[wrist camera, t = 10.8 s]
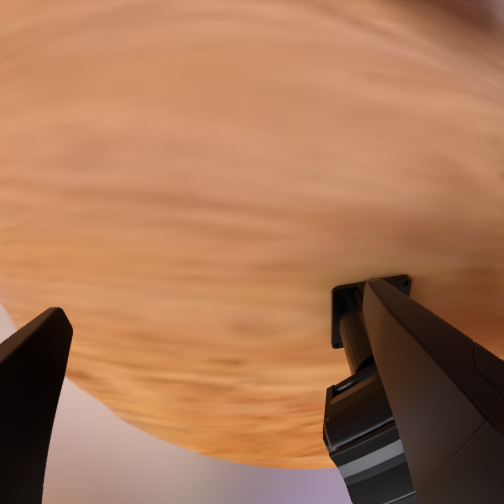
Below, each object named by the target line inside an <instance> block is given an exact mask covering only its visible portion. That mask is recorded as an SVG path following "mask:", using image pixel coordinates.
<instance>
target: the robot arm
mask: <svg viewBox="0 0 504 504" xmlns="http://www.w3.org/2000/svg"><path fill="white" fill-rule="evenodd" d="M405 281H406V282H405ZM404 282H405V283H404ZM410 288H411V279H410V277H409V276H408V275H402V276H397V277H391V278H385V279H376V280H369V281H367V282H362V283H355V284H349V285H343V286H337V287H335V288H333V290H332V292H331V345H332V347H333V348H334V349H339V348H344V350H345V353H346V356H347V360H348V363H349V367H350V371H351V374H352V376H350V377H348V378H347V379H345V380H343V381H342V382H340V383H338V384H336V385H332V386H330V387H329V388H327V392H326V404H325V414H324V424H323V441H324V442H325V445H326V447H327V450H328V452H329V456H330V458H331V459H332V461H333V462H334V463H335V465H336V466H337V467H338V469H339V471H340V473H341V475H342V477H343V479H344V481H345V483H346V486H347V489H348V492H349V495H350V498H351V501H352V503H353V504H504V361H503V360H502V359H500V358H498V357H497V356H496V355H494V354H493V353H491V352H490V351H488V350H487V349H485V348H484V347H482V346H481V345H479V344H478V343H477V342H474V341H473V340H472V339H471V338H469V337H468V336H466V335H465V334H463V333H462V332H461V331H459V330H458V329H456V328H455V327H453V326H452V325H450V324H449V323H447V322H446V321H444V320H443V319H441V318H440V317H438V316H437V315H435V314H434V313H432V312H431V311H429V310H428V309H426V308H425V307H423V306H422V305H420V304H419V303H417V302H416V301H414V300H413V299H411V298H410V297H409V294H410ZM338 292H341V293H340V294H337V293H338ZM72 336H73V328H72V325H71V323H70V322H69V320H68V318H67V316H66V314H65V313H64V311H63V309H62V308H60V307H51V308H48V309H47V310H46V311H44V312H43V313H41V314H40V315H39V316H37V317H36V318H34V319H33V320H32V321H30V322H29V323H27V324H26V325H25V326H23V327H22V328H21V329H19V330H18V331H17V332H15V333H14V334H13V335H11V336H10V337H9V338H8V339H6V340H5V341H3V342H2V343H1V344H0V504H42V495H43V484H44V475H45V468H46V462H47V456H48V450H49V444H50V439H51V433H52V428H53V423H54V418H55V414H56V410H57V405H58V401H59V397H60V393H61V389H62V385H63V381H64V377H65V372H66V367H67V362H68V356H69V351H70V346H71V341H72ZM336 343H337V344H336Z"/></svg>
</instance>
